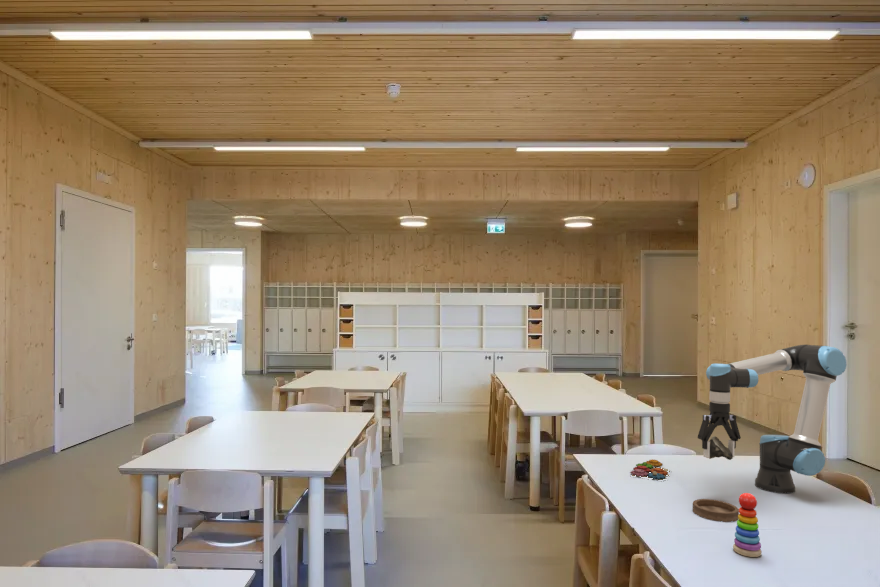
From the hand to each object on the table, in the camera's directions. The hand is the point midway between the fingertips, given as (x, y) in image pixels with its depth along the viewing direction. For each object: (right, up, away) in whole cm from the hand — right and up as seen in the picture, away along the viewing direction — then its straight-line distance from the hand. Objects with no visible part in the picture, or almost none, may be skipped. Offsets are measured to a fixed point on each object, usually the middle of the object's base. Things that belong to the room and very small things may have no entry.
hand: (718, 456), depth 226 cm
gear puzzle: (-11, -20, +41) cm, 47 cm away
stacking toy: (-15, -16, -48) cm, 53 cm away
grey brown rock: (0, -1, 0) cm, 1 cm away
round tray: (-9, -17, -15) cm, 24 cm away
